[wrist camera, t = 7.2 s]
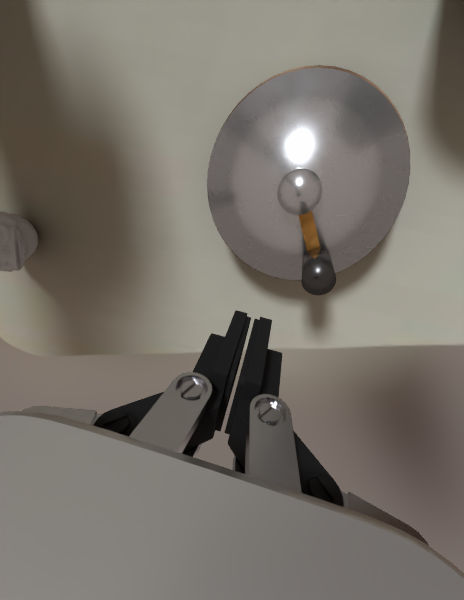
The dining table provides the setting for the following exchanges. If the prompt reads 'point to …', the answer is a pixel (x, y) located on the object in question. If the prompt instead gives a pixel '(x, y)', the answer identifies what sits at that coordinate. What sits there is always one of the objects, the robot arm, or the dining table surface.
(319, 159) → the handwheel
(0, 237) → the grey lumpy ball
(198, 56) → the dining table surface
